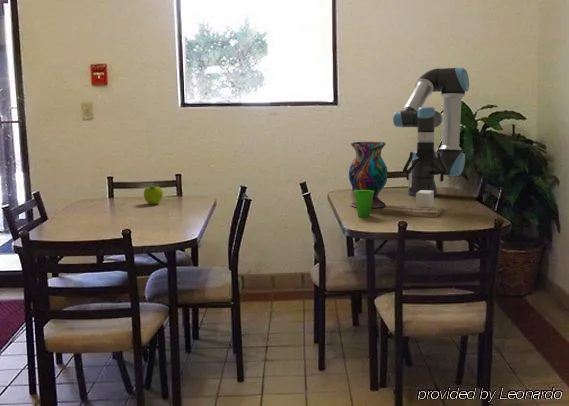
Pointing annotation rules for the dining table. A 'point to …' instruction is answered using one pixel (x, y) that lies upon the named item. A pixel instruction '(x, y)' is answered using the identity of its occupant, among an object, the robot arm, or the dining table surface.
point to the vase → (368, 170)
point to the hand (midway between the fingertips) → (424, 188)
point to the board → (411, 211)
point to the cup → (364, 202)
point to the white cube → (424, 198)
